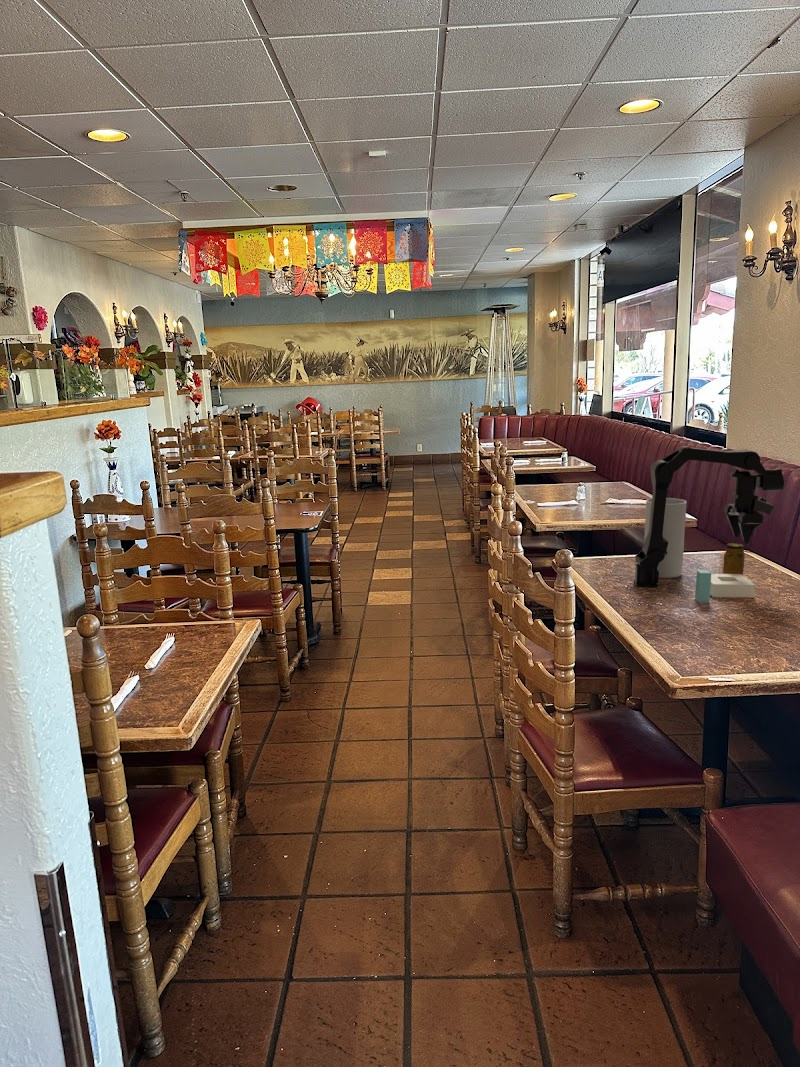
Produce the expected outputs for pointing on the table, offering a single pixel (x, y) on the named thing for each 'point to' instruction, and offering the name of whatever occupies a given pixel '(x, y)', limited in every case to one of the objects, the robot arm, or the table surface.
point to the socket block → (731, 586)
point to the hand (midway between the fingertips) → (741, 540)
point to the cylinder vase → (671, 536)
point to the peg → (703, 586)
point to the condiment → (734, 559)
